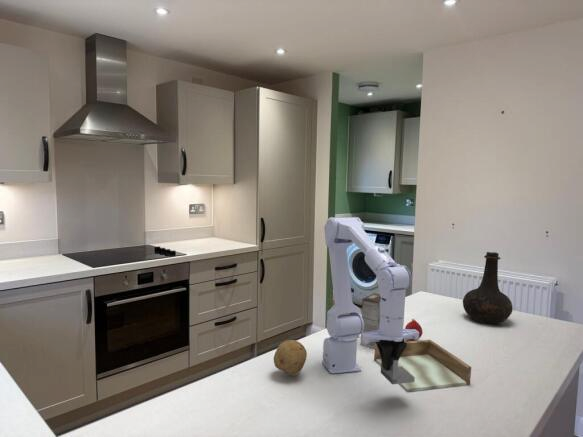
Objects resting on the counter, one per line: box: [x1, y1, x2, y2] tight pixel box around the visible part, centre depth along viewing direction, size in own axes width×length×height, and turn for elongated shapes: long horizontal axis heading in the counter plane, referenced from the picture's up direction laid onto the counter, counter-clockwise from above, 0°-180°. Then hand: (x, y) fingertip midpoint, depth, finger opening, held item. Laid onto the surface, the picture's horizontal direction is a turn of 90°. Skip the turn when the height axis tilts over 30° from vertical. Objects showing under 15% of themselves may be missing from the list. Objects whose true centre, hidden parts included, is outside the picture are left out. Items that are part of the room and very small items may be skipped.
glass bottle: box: [462, 251, 513, 325], centre depth 162 cm, size 18×18×28 cm
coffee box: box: [360, 292, 381, 350], centre depth 135 cm, size 9×6×16 cm
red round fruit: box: [404, 318, 423, 341], centre depth 138 cm, size 6×6×8 cm
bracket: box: [380, 354, 415, 385], centre depth 100 cm, size 6×6×6 cm
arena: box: [373, 339, 472, 393], centre depth 116 cm, size 19×19×5 cm
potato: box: [273, 339, 308, 377], centre depth 112 cm, size 9×9×10 cm
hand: (388, 368), depth 99 cm, fingers closed on bracket
